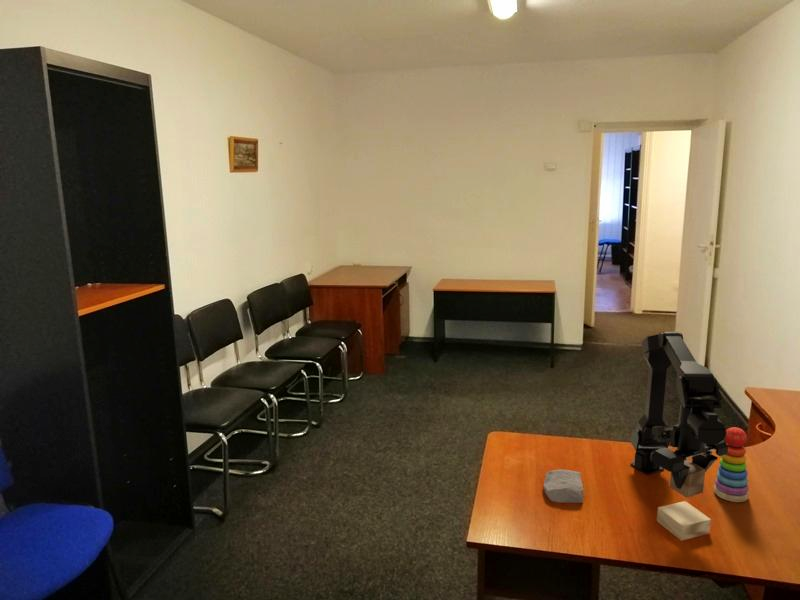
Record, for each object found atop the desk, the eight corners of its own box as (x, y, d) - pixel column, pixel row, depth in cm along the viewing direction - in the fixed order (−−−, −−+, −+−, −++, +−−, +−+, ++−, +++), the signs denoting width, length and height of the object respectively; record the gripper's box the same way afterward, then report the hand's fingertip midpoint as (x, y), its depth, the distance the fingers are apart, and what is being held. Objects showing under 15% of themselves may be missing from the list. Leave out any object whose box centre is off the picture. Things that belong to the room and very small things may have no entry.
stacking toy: (746, 490, 154) (754, 424, 149) (749, 506, 147) (758, 438, 142) (712, 484, 157) (719, 419, 152) (714, 500, 150) (721, 433, 145)
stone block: (547, 508, 152) (586, 504, 149) (543, 491, 151) (583, 487, 149) (544, 485, 163) (581, 481, 161) (541, 469, 162) (578, 465, 160)
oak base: (683, 515, 144) (685, 500, 143) (709, 534, 137) (710, 519, 136) (656, 522, 142) (658, 507, 141) (681, 541, 135) (682, 526, 134)
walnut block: (684, 482, 140) (687, 459, 139) (702, 492, 136) (705, 469, 135) (669, 487, 138) (671, 464, 137) (687, 498, 134) (689, 474, 133)
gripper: (691, 403, 144) (685, 460, 148) (634, 418, 137) (630, 478, 140) (732, 420, 134) (725, 481, 138) (674, 438, 127) (668, 502, 131)
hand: (686, 485), depth 137 cm, fingers closed on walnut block, 5 cm apart
